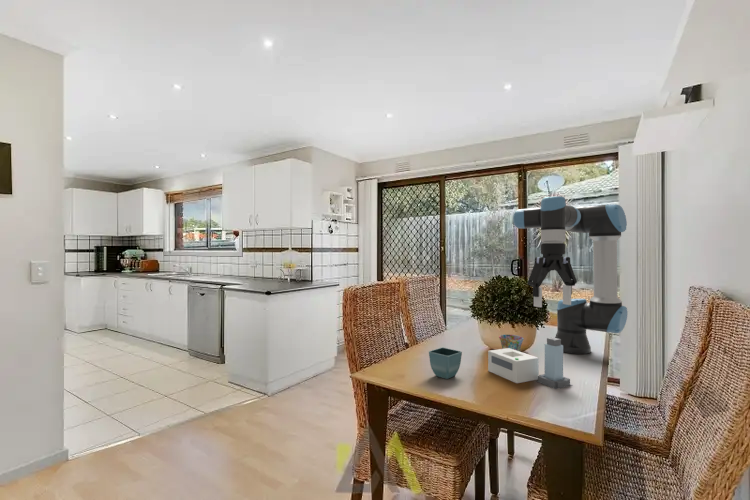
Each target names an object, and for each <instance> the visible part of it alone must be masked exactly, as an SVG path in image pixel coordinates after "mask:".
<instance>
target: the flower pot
mask: <svg viewBox="0 0 750 500" xmlns="http://www.w3.org/2000/svg"><path fill="white" fill-rule="evenodd" d="M462 355H463V351H460V350H456V349H451V348H447V347H439V348H435V349H432V350H429V351H428V358H429V365H430V368H431V370H432V372H433V374H434V376H436V377H439V378H442V379H445V380H448V379H451V378H454V377H455V376H456V375H457V373H458V372H459V369H460V367H461V362H462Z"/></svg>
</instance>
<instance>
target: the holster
mask: <svg viewBox="0 0 750 500" xmlns="http://www.w3.org/2000/svg"><path fill="white" fill-rule="evenodd" d="M535 382H537V383H539V384H541V385H543V386H547V387H549V388H551V389H554V390H558V389H564V388H568V387H573V384H571V378H569V377H566V376H563V380H558V381H553V380H550V379H548V378H545V373H543V374H538V379H537V380H535Z"/></svg>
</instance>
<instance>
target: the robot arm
mask: <svg viewBox="0 0 750 500" xmlns="http://www.w3.org/2000/svg"><path fill="white" fill-rule="evenodd" d="M540 201H541V202H540V207H534V208H532V207H531V208H530V207H529V208H521V209H517V210H515V212H514V213H513V224H514V226H515V228H517V229H523V230H525V229H540V242H542V243H541V244H540V254H541V255H542V257H541V256H535V258H534V264H533V267H532V270H531V272H530V275H529V278H528V280H527V285H529V287H532V297H533V307H536V308H543V287H541V285H542V284H543V282H544V281H545V279H546V277H547V276H548V274H549V273H550V272H551V271H556V272H557V274H558V275H559V277H560V279H561V281H562V282H563V283H564V285H562V299H560V300H559V301H558V302H557V307H556V311H557V312H556V317H557V318H556V320H557V322H556V325H557V331H556V334H555V336H554V338H558V339H561V345H563V353H565V354H573V355H574V354H575V355H588V354H590V353H591V352H592V351H591V345H590V341H589V339H588V336H587V330H591V331H597V332H605V333H607V334H610V333H612V334H620V333H621V332H623V330H624V329H625V326H626V323H627V319H628V307H626V306H625V305H623V301H622V299H620V298H619V297H618V240H619V239H620V238H621V237H622V233H624V232H626V230H627V223H628V222H627V217H626V214H625V210H624V209H623V207H622V206H621V205H620V204H616V203H615V204H607V203H606V204H601V205H600V204H599V205H588V206H587V205H586V206H577V207H574V206H573V205H567V203H566V198H565V196H560V195H558V196H557V195H556V196H547V197H543V198H541V200H540ZM566 232H569V233H578V234H579V233H580V234H587V233H588V237H589V238H590V240H591V241H592V243H593V247H592V248H593V251H592V252H593V254H592V255H593V257H592V259H593V263H592V264H593V296H592V297H590V299H589V302H587V299H586V298H572V294H573V292H572V291H573V286H576V284H577V282H578V281H577V279H576V275H575V273H574V269H573V266H572V264H571V263H572V262H571V258H570V256H564V255H565V254H566V244H565V243H564V242H566V240H567V239H566V236H567V235H566Z"/></svg>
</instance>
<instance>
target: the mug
mask: <svg viewBox="0 0 750 500" xmlns="http://www.w3.org/2000/svg"><path fill="white" fill-rule="evenodd" d="M498 338H499V341H500V344H501V347H502V348H501V349H505V348H511V349H514V350H517V351H520V352H521V347H522V344H523V341H524V339H525V338H524V337H523V336H521V335H516V334H501V335H500V334H499V336H498Z"/></svg>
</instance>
